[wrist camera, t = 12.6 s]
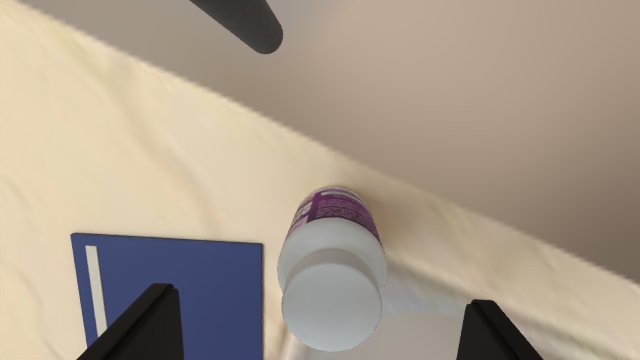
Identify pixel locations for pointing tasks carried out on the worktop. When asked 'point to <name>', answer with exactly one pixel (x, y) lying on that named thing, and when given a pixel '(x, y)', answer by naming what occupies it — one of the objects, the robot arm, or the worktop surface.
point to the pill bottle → (332, 271)
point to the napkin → (187, 276)
